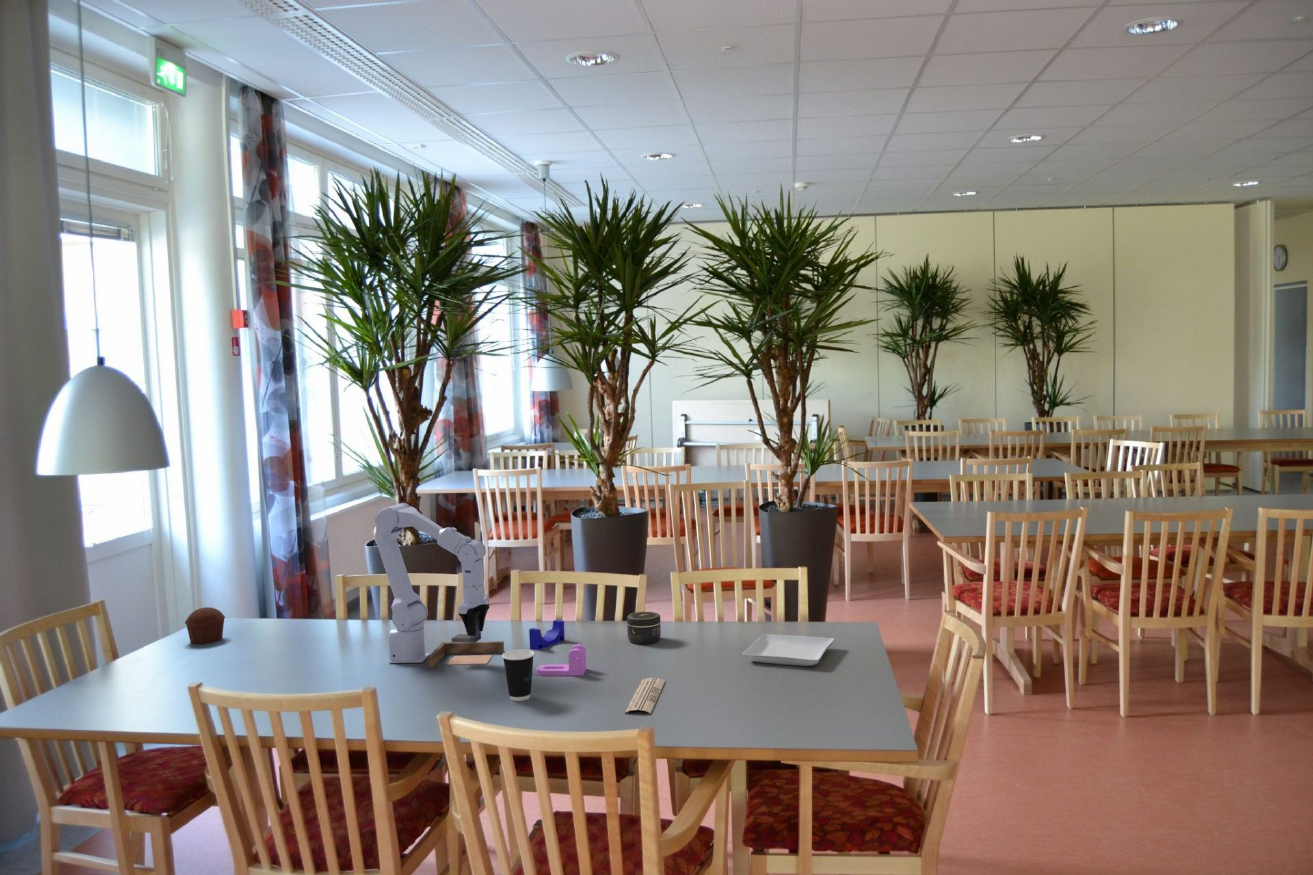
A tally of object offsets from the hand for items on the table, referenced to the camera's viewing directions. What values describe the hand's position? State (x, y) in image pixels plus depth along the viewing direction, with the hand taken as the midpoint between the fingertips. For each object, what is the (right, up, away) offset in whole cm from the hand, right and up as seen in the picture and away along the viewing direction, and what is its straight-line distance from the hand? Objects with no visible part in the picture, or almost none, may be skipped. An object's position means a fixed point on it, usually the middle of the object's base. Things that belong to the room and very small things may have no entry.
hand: (475, 633), depth 270 cm
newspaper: (+48, -10, -32) cm, 59 cm away
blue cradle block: (+18, -7, +17) cm, 26 cm away
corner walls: (-3, -8, +4) cm, 10 cm away
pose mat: (-2, -8, +3) cm, 9 cm away
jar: (+47, -6, +18) cm, 50 cm away
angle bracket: (-3, -2, +1) cm, 3 cm away
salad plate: (+87, -7, -2) cm, 87 cm away
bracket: (+25, -9, -10) cm, 28 cm away
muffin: (-90, -9, +33) cm, 96 cm away
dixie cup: (+17, -10, -30) cm, 35 cm away
